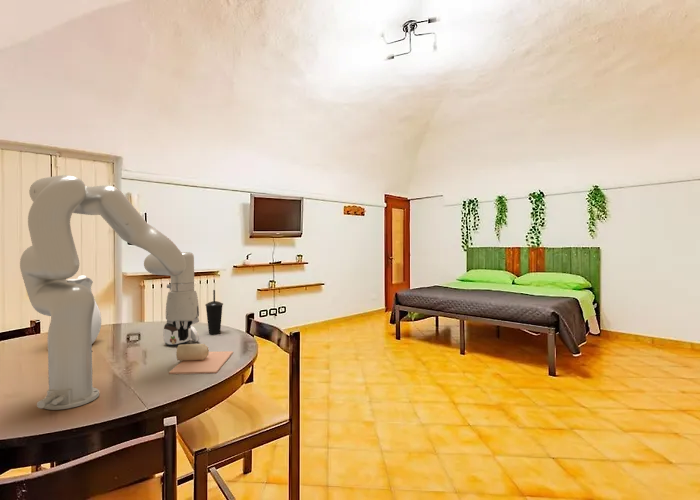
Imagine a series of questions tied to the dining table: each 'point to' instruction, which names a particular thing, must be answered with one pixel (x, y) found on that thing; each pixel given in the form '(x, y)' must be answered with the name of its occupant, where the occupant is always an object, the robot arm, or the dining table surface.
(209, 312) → the drinking cup
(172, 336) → the spread jar
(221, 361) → the mat
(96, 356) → the dining table surface
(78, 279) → the pitcher
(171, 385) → the dining table surface
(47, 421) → the dining table surface
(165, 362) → the dining table surface
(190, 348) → the candle
